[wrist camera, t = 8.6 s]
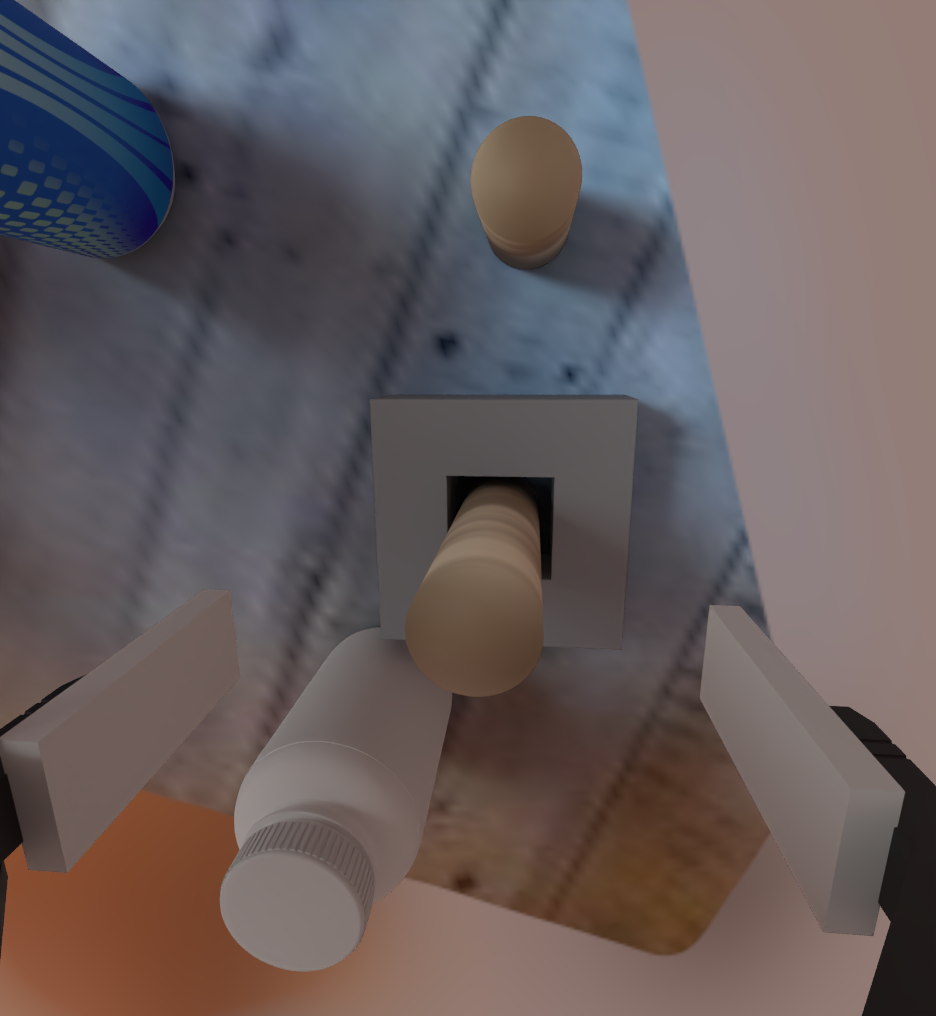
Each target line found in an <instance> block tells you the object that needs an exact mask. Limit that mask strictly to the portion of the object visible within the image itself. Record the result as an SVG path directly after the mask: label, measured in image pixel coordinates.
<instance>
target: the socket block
mask: <svg viewBox="0 0 936 1016" xmlns="http://www.w3.org/2000/svg"><path fill="white" fill-rule="evenodd" d="M637 412H638V399H635V398H632V397H629V396H626V395H388V396H384V397H379V398H374V399H370V416H371V437H372V459H373V480H374V501H375V523H376V544H377V566H378V587H379V608H380V630H381V639H398V640H406V635H405V623H406V618H407V614H408V611H409V608H410V606H411V604H412V602H413V600H414V598H415V596H416V594H417V592H418V590H419V588H420V586H421V584H422V582H423V580H424V578H425V576H426V574H427V572H428V570H429V568H430V566H431V564H432V562H433V560H434V558H435V557H436V555H437V553H438V551H439V549H440V547H441V545H442V543H443V541H444V539H445V537H446V535H447V533H448V531H449V529H450V527H451V525H452V523H453V521H454V519H455V517H456V515H457V513H458V476H497V477H551V506H550V539H549V553H541V578H542V603H543V629H544V642H543V646H546V647H568V648H589V649H610V650H622V639H623V624H624V608H625V593H626V578H627V563H628V548H629V533H630V518H631V503H632V488H633V473H634V458H635V443H636V427H637Z"/></svg>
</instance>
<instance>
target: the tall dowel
mask: <svg viewBox="0 0 936 1016" xmlns="http://www.w3.org/2000/svg"><path fill="white" fill-rule="evenodd" d="M405 635H406V642H407V646H408V649H409V652H410V654H411V656H412V658H413V660H414V662H415V664H416V665H417V666H418V668H419V669H420V670H421V671H422V673H423V674H424V675H425V676H426V677H427V678H429V679H430V680H431V681H432V682H434V683H435V684H437V685H438V686H440V687H442V688H444V689H446V690H448V691H450V692H453V693H456V694H460V695H464V696H471V697H485V696H492V695H496V694H500V693H503V692H506V691H508V690H510V689H512V688H514V687H515V686H517V685H518V684H520V683H521V682H522V681H523V680H525V679H526V678H527V677H528V676H529V674H530V673H531V672H532V671H533V669H534V668H535V666H536V664H537V663H538V661H539V658H540V656H541V652H542V648H543V642H544V629H543V603H542V578H541V553H540V527H539V504H538V499H537V496H536V494H535V492H534V490H533V488H532V487H531V486H530V484H529V483H528V482H527V481H525V480H524V479H523V478H521V477H497V476H483V477H482V478H480V479H479V480H478V481H476V482H475V483H474V484H473V486H472V487H471V488H470V490H469V492H468V494H467V496H466V498H465V500H464V502H463V504H462V506H461V508H460V510H459V511H458V513H457V515H456V517H455V519H454V521H453V523H452V525H451V527H450V529H449V531H448V533H447V535H446V537H445V539H444V541H443V543H442V545H441V547H440V549H439V551H438V553H437V555H436V557H435V558H434V560H433V562H432V564H431V566H430V568H429V570H428V572H427V574H426V576H425V578H424V580H423V582H422V584H421V586H420V588H419V590H418V592H417V594H416V596H415V598H414V600H413V602H412V604H411V606H410V608H409V611H408V614H407V618H406V623H405Z"/></svg>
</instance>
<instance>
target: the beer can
mask: <svg viewBox="0 0 936 1016" xmlns="http://www.w3.org/2000/svg"><path fill="white" fill-rule="evenodd" d="M174 192H175V169H174V162H173V155H172V149H171V146H170V142H169V138H168V135H167V133H166V130H165V128H164V125H163V123H162V121H161V119H160V117H159V115H158V114H157V112H156V110H155V109H154V107H153V106H152V104H151V103H150V102H149V101H148V99H147V98H146V97H145V96H144V95H143V93H142V92H141V91H140V90H139V89H138V88H137V87H136V86H134V85H133V84H132V83H131V82H130V81H128V80H127V79H126V78H124V77H123V76H122V75H120V74H119V73H117V72H116V71H114V70H113V69H112V68H110V67H109V66H107V65H106V64H104V63H103V62H102V61H100V60H99V59H97V58H96V57H94V56H93V55H92V54H90V53H89V52H87V51H86V50H85V49H83V48H82V47H80V46H79V45H77V44H76V43H75V42H73V41H72V40H70V39H69V38H67V37H66V36H65V35H63V34H62V33H60V32H59V31H57V30H56V29H55V28H53V27H52V26H50V25H49V24H47V23H46V22H45V21H43V20H42V19H40V18H39V17H38V16H36V15H35V14H33V13H32V12H30V11H29V10H28V9H26V8H25V7H23V6H22V5H20V4H19V3H18V2H16V1H15V0H0V235H2V236H6V237H10V238H14V239H18V240H23V241H27V242H31V243H35V244H39V245H43V246H47V247H51V248H56V249H60V250H64V251H68V252H72V253H76V254H80V255H84V256H89V257H95V258H112V257H118V256H122V255H125V254H128V253H130V252H132V251H134V250H136V249H138V248H139V247H141V246H142V245H144V244H145V243H146V242H147V241H148V240H149V239H150V238H151V237H152V236H153V235H154V234H155V233H156V231H157V230H158V229H159V228H160V227H161V225H162V224H163V223H164V221H165V219H166V218H167V215H168V213H169V211H170V208H171V206H172V202H173V198H174Z"/></svg>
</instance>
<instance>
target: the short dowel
mask: <svg viewBox="0 0 936 1016" xmlns="http://www.w3.org/2000/svg"><path fill="white" fill-rule="evenodd" d="M581 183H582V166H581V160H580V156H579V153H578V150H577V148H576V146H575V144H574V142H573V140H572V139H571V137H570V136H569V135H568V134H567V133H566V132H565V131H564V130H563V129H562V128H561V127H560V126H558V125H557V124H556V123H554V122H552V121H550V120H548V119H545V118H541V117H536V116H524V117H518V118H514V119H511V120H509V121H507V122H504V123H503V124H501V125H500V126H498V127H497V128H496V129H494V130H493V131H492V132H491V133H490V134H489V135H488V136H487V137H486V139H485V140H484V141H483V143H482V144H481V146H480V148H479V149H478V151H477V154H476V156H475V159H474V162H473V165H472V171H471V191H472V197H473V200H474V203H475V206H476V209H477V212H478V214H479V217H480V220H481V223H482V225H483V228H484V231H485V234H486V237H487V239H488V242H489V245H490V247H491V249H492V250H493V252H494V254H495V255H496V256H497V257H498V258H499V259H500V260H501V261H502V262H504V263H505V264H507V265H509V266H511V267H513V268H516V269H523V270H529V269H535V268H539V267H541V266H543V265H545V264H547V263H549V262H550V261H551V260H553V259H554V258H555V257H556V256H557V255H558V253H559V252H560V251H561V249H562V248H563V246H564V244H565V242H566V240H567V237H568V233H569V230H570V226H571V222H572V219H573V215H574V211H575V208H576V204H577V200H578V197H579V193H580V189H581Z"/></svg>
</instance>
